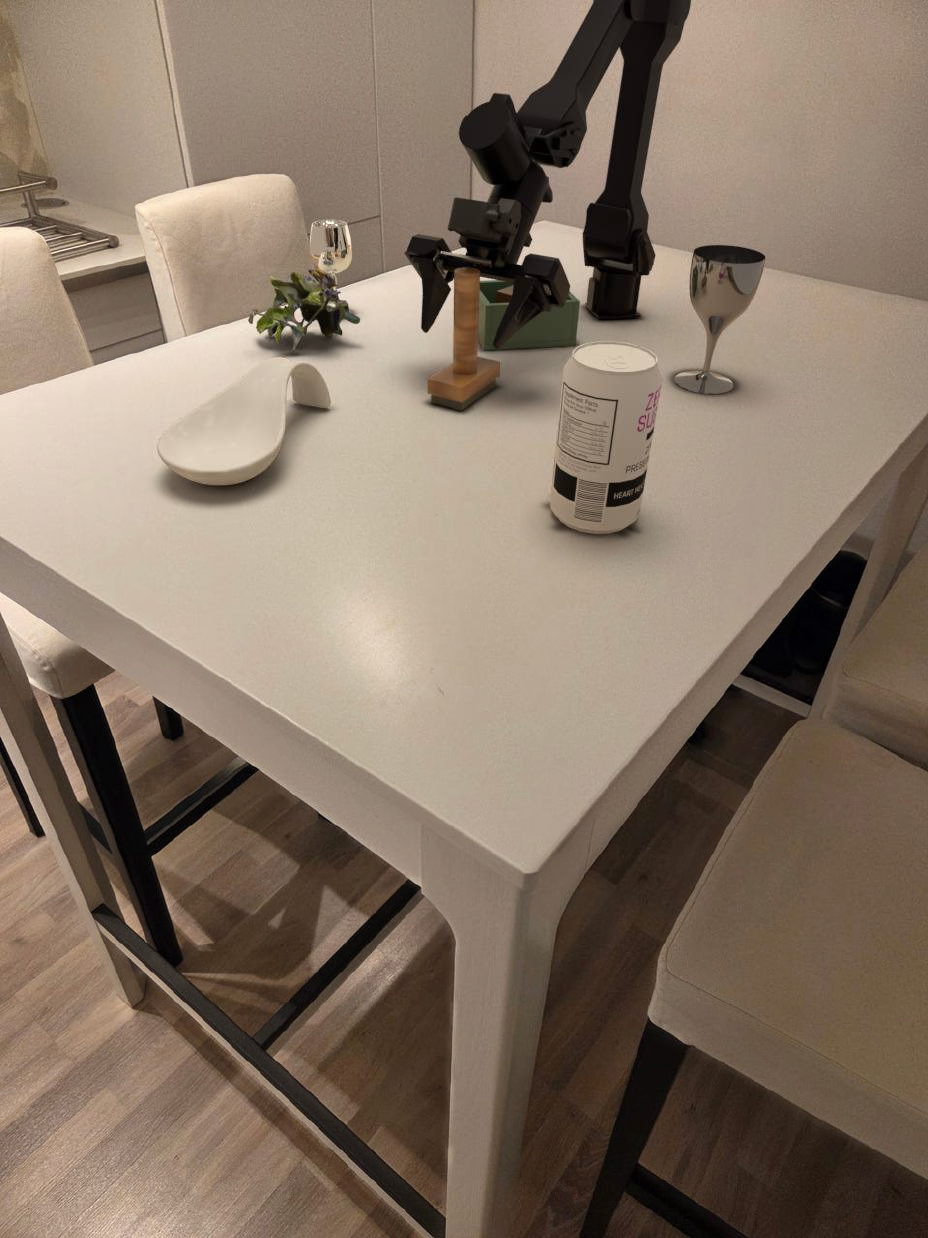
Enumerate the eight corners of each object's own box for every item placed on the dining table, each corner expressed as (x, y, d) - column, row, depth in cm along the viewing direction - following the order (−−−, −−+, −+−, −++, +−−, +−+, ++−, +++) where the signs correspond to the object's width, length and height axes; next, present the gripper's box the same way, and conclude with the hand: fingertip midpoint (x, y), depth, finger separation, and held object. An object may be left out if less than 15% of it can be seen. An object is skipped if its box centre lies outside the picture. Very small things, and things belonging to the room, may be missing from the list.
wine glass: (739, 375, 108) (767, 249, 99) (733, 399, 102) (763, 267, 93) (675, 366, 110) (697, 241, 101) (666, 389, 104) (689, 258, 95)
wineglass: (359, 308, 125) (354, 219, 118) (351, 321, 121) (346, 229, 113) (320, 306, 125) (313, 217, 118) (310, 319, 121) (303, 227, 114)
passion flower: (329, 375, 119) (377, 307, 112) (289, 390, 109) (340, 316, 103) (268, 318, 118) (314, 245, 112) (224, 327, 109) (270, 249, 103)
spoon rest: (247, 512, 79) (236, 440, 74) (138, 488, 82) (122, 418, 77) (358, 412, 97) (355, 349, 92) (266, 396, 100) (258, 334, 95)
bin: (552, 319, 123) (556, 277, 120) (575, 345, 115) (580, 301, 112) (466, 323, 121) (467, 280, 118) (483, 350, 113) (485, 305, 109)
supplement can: (542, 493, 83) (556, 338, 74) (626, 491, 83) (651, 338, 74) (557, 538, 76) (574, 375, 67) (648, 536, 77) (677, 374, 68)
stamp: (499, 385, 104) (505, 264, 95) (461, 412, 97) (464, 284, 89) (466, 377, 105) (469, 257, 97) (427, 403, 99) (426, 277, 90)
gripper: (411, 153, 93) (357, 284, 92) (570, 174, 86) (513, 316, 85) (448, 218, 103) (399, 336, 102) (592, 241, 96) (541, 368, 95)
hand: (459, 338), depth 96 cm, fingers open, 9 cm apart
